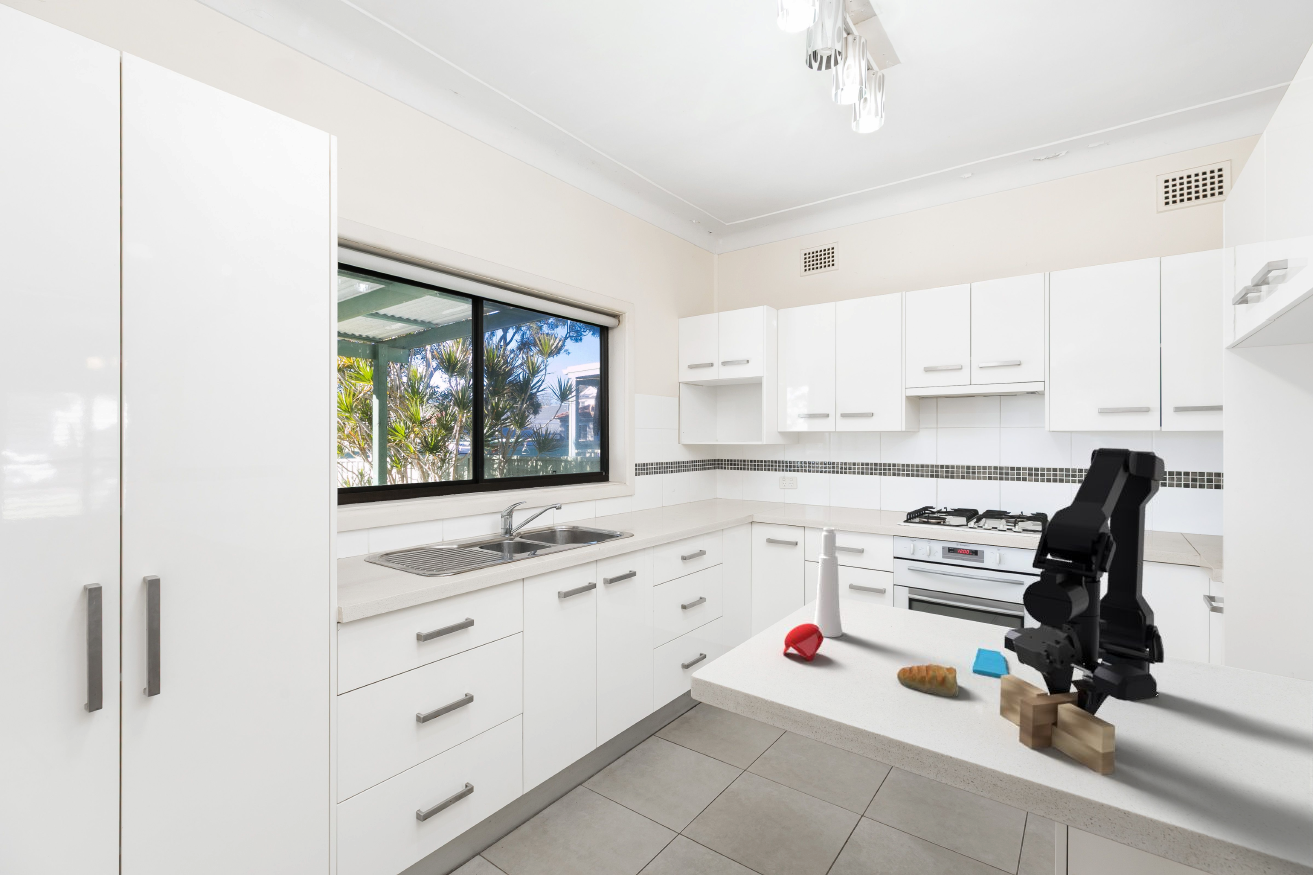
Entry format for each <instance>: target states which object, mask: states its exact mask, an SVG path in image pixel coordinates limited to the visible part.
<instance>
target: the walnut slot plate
mask: <svg viewBox="0 0 1313 875" xmlns="http://www.w3.org/2000/svg"><path fill="white" fill-rule="evenodd" d="M1069 703H1070V704H1072V705H1074V706H1076V707H1078V691H1077V690H1076V691H1070V692H1069V693H1062V694H1054V695H1050V694H1048V695H1046V696H1038V697H1030V698H1023V699H1020V726H1019V734H1018V735H1019V736H1018V737H1019V739H1018V740H1019V743H1021V744H1023V745H1024V746H1026V747H1027V748H1029V749H1030V750H1034V749H1040V748H1046V747H1051V746H1052V745H1051V730H1052V723H1055V722H1058V705H1061V704H1069Z"/></svg>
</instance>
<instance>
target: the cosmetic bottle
mask: <svg viewBox="0 0 1313 875" xmlns="http://www.w3.org/2000/svg"><path fill="white" fill-rule="evenodd" d="M835 530H836V529H835V527H831V526H830V527H829V526H828V527H827V526H826V527H823V532H822V533H821V554H820V555H819V559H818V560H819V561H818V562H819V563H818V573H817V574H818V575H817V576H818V577H817V588H816V589H817V591H816V592H817V593H816V603H815V613H814V614H815V615H814V618H813V619H814V621H813V624H815V625H817V626H818V627H819V630H820V632H821V633H822V636H823V638H839V637H841V636H842V635H843V627H842V620H841V609H840V593H839V591H840V588H839V586H840V585H839V584H840V583H839V558H838V556H837V554H836V550H837V545H836V544H837V542H836V540H837V534H836V532H835Z"/></svg>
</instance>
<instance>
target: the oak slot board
mask: <svg viewBox="0 0 1313 875" xmlns="http://www.w3.org/2000/svg"><path fill="white" fill-rule="evenodd" d="M1046 695H1049V691H1046V690H1044V689H1042V688H1040V687H1038V686H1036V685H1034V684H1032V683H1030V682H1028V681H1027V680H1025V679H1022V678H1020V677H1018V676H1016V675H1014V674H1009V675H1001V678H1000V696H999V697H1000V701H999V715H1000V716H1002V717H1003V718H1005V719H1006V720H1008V721H1009V722H1012V723H1013V724H1015V725H1017V726H1018V727H1020V699H1023V698H1030V697H1038V696H1046ZM1115 740H1116V726H1115V725H1114V724H1112V723H1110V722H1109V721H1106V720H1104V719H1103V718H1100V717H1098V716H1096V715H1092V714H1090V713H1088V712H1086V711H1084V710H1082V709H1080V708H1078V707H1076V706H1074V705H1072V704H1070V703H1069V704H1061V705H1058V722H1055V723H1052V730H1051V746H1052V747H1054V748H1056V750H1058V751H1060V752H1062V753H1064V754H1065V755H1067V756H1069V757H1071V758H1072V759H1074V760H1075V761H1078V762H1079V763H1080V764H1083V765H1084V766H1086V767H1087V768H1089V769H1091V770H1093V771H1094V772H1096V773H1098V774H1099V775H1100V776H1101V775H1102V776H1103V775H1109V774H1112V773H1115V772H1114V771H1115Z"/></svg>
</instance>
